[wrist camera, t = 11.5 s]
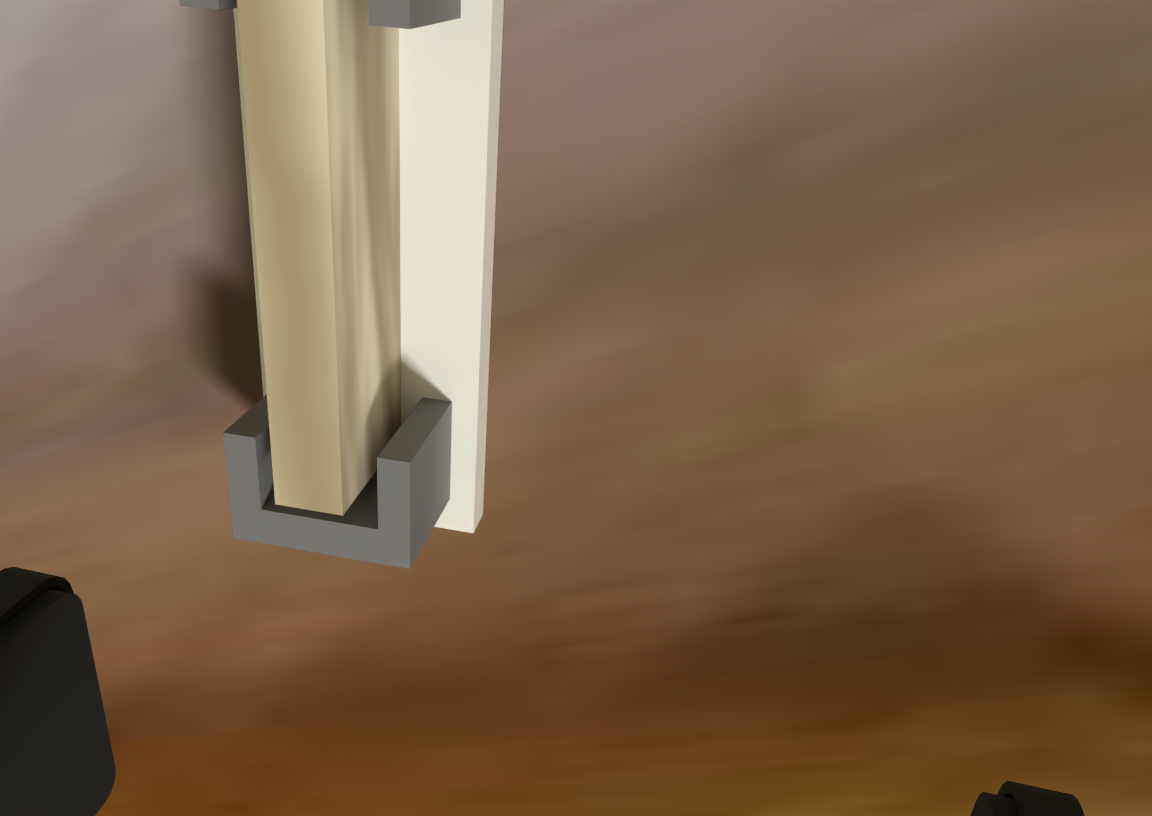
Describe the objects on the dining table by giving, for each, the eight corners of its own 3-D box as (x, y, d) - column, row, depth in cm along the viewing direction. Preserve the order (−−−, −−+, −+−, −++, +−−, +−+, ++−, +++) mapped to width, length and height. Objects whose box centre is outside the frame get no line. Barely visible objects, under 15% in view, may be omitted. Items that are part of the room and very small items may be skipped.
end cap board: (511, -189, 29) (450, -224, 24) (482, 514, 41) (437, 606, 35) (239, -209, 30) (117, -247, 25) (286, 481, 42) (211, 565, 36)
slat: (398, -58, 30) (320, -60, 25) (401, 437, 38) (342, 515, 33) (324, -65, 30) (231, -68, 25) (342, 428, 38) (275, 504, 33)
